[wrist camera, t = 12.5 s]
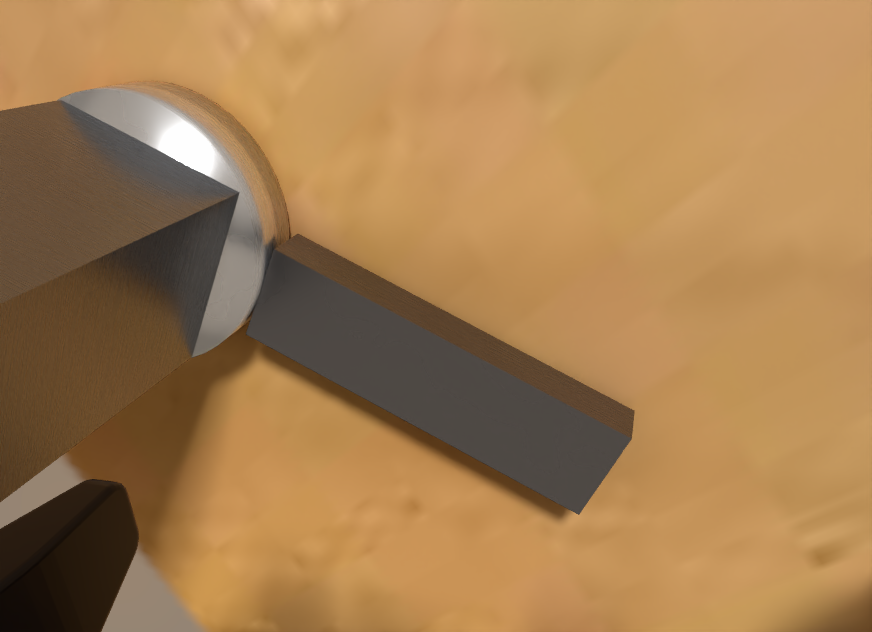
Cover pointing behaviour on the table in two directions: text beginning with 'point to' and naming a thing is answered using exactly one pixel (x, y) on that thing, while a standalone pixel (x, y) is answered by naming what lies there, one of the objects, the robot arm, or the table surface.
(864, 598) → the table surface
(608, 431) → the ratchet
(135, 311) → the socket
